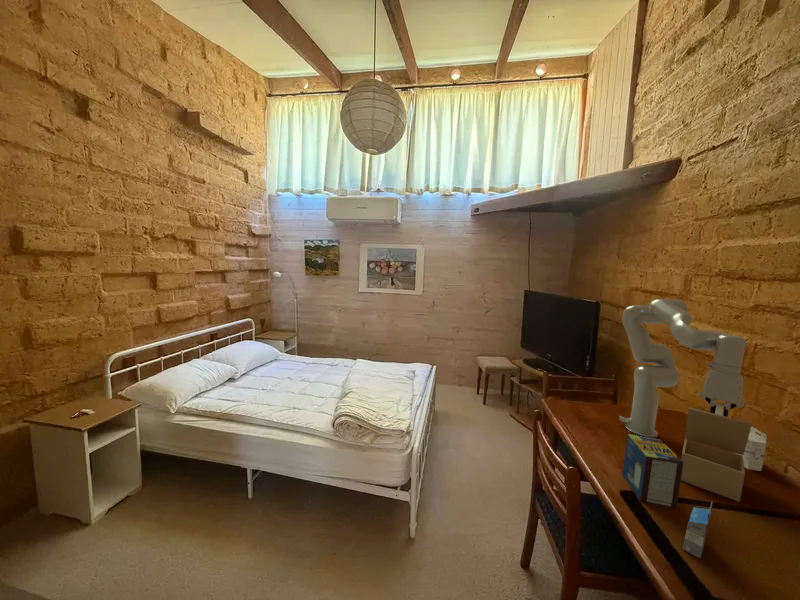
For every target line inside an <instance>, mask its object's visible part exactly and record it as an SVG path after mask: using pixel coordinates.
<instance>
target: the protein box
mask: <svg viewBox="0 0 800 600" xmlns="http://www.w3.org/2000/svg"><path fill="white" fill-rule="evenodd" d="M625 445H626V446H625V451H624V459H623V466H622V473H621V475H622V476H623V478H624V479H625V481H626V483H627V484H628V485H629V487H630V488H631V491H632V492H633V493H634V495H635V496H636V497H637V499H638V501H639V502H642V503H647V504H653V505H658V506H663V507H668V508H673V509H677V507H678V501H679V494H680V489H681V477H682V470H683V464H684V462H683V461H682V460H681V458H680V457H679V456H678V455H677V454H676V453H675V452H674V451H673V450H671V448H670V447H669V446H668V445H667V444H666V443H664V442H663V440H661V439H660V438H656V437H655V438H649V437H643V436H639V435H637V434H631V433H630V434H629V433H628V434H627V437H626V444H625Z"/></svg>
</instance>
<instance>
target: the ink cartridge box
mask: <svg viewBox="0 0 800 600" xmlns="http://www.w3.org/2000/svg"><path fill="white" fill-rule="evenodd" d="M757 433H758V434H757ZM767 436H768V435H766V433H764V432H762V431H760V430H758V429H757V428H755V427H753V426H751V429H750V433H749V437H748V440H747V444H746V447H745V451H744V455H742V456H743V463H744V469H746V470H751V471H758V472H762V469H763V464H764V458H765V455H766V448H767V439H768V438H767ZM732 453H734V452H732ZM735 454H737V453H735ZM738 455H740V454H738Z"/></svg>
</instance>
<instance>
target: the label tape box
mask: <svg viewBox="0 0 800 600" xmlns="http://www.w3.org/2000/svg"><path fill="white" fill-rule="evenodd" d="M712 508H713V502H711V503H710V507H709V508H703V507H701V508H700V507H693V508H692V510H691V513H690V515H689V519H688V522H687V527H686V531H685V535H684V541H683V544H682V545H683V546H682V550H683V551H686V552H687V553H688V554H690V555H692V556H693V557H697V558H699V559H701V558H702V554H703V550H704V547H705V542H706V537H707V535H708V530H709V529H708V528H709V524H710V519H711V515H712V511H713V509H712Z"/></svg>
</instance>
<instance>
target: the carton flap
mask: <svg viewBox="0 0 800 600" xmlns="http://www.w3.org/2000/svg"><path fill="white" fill-rule="evenodd" d="M715 404H716V410H715V414H714V413H710V411H705V410H702V409H698V408H693V407H690V406H689V408H688V413H687V419H686V426H685V434H684V439H685V438H686V439H689V440H692V441H695V442H699V443H702V444H705V445H709V446H712V447H715V448H719V449H722V450H725V451H728V452H732V453H733V452H734V453H737V454H740V455H744V451H745V447H746V444H747V440H748V437H749V433H750V429H751V426H752V425H753V423H752V422H749V421H744V420H741V419H737V418H733V417H726V416H723V411H724V406H725V403H723V402H719V401H717V402H715ZM752 427H753V426H752Z"/></svg>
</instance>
